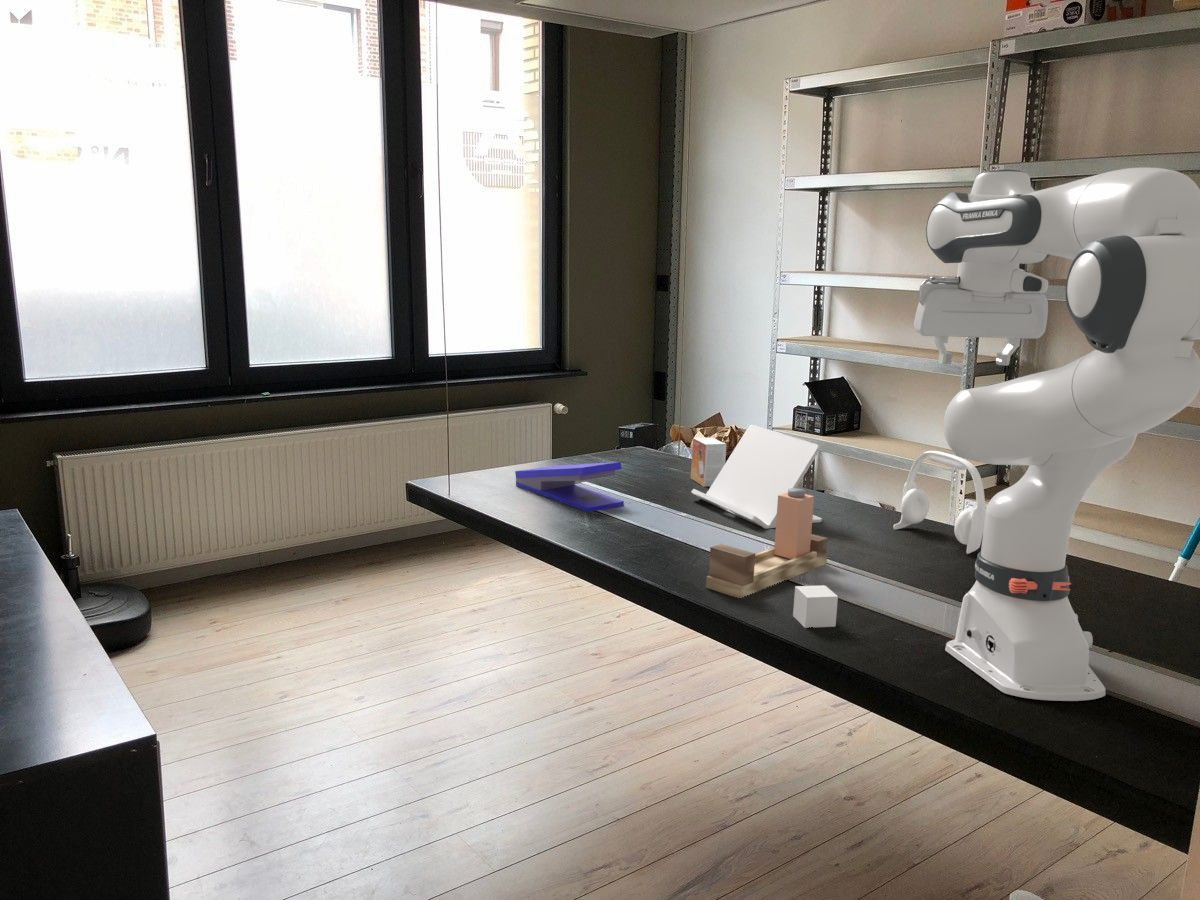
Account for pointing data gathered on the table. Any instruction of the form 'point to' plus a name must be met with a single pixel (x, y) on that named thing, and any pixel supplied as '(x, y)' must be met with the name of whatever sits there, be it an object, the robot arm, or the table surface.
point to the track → (758, 567)
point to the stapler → (570, 484)
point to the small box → (707, 460)
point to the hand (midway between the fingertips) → (973, 364)
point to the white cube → (815, 606)
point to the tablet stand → (760, 475)
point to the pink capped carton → (793, 523)
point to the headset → (918, 502)
